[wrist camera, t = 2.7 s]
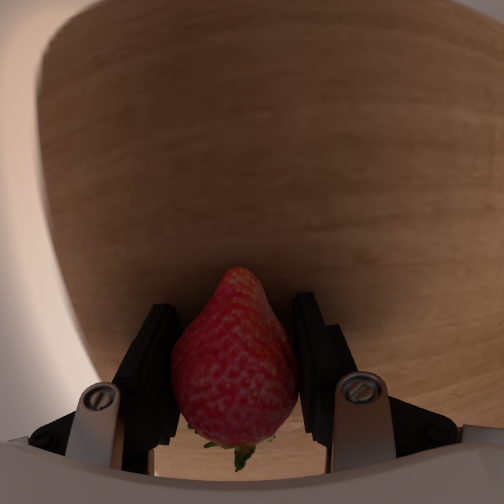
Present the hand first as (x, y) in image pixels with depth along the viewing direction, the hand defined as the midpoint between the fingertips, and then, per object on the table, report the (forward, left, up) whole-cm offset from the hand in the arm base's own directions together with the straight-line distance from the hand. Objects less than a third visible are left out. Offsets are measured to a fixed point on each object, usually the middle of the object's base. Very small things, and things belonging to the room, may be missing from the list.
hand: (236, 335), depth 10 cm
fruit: (0, 0, -1) cm, 1 cm away
